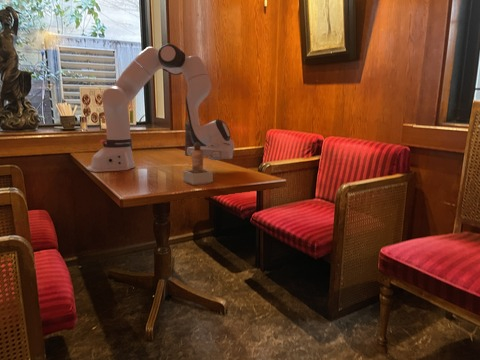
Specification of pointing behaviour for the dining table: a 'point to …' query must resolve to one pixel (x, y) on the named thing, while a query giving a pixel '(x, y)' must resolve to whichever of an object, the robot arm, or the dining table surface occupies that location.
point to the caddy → (197, 177)
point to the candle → (187, 137)
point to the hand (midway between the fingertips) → (202, 154)
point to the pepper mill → (197, 159)
